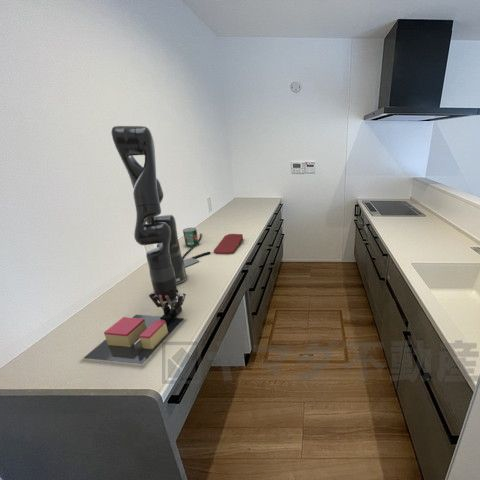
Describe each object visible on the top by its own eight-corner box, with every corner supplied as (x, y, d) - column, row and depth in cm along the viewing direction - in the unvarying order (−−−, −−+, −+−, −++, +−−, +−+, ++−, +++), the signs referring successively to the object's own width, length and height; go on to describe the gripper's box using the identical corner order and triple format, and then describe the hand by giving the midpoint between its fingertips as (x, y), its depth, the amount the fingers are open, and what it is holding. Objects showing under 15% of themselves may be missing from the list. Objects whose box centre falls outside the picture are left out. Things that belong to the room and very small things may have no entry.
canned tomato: (184, 245, 172) (181, 229, 168) (196, 242, 177) (194, 226, 173) (187, 248, 166) (184, 232, 162) (200, 245, 171) (198, 229, 167)
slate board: (136, 316, 103) (135, 314, 103) (184, 320, 101) (184, 318, 101) (84, 360, 83) (83, 358, 82) (143, 366, 81) (142, 364, 80)
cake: (126, 328, 95) (123, 317, 93) (147, 330, 94) (144, 318, 92) (108, 345, 88) (103, 332, 86) (130, 347, 87) (126, 334, 85)
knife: (176, 309, 105) (175, 303, 104) (182, 310, 105) (180, 303, 104) (133, 351, 84) (131, 343, 83) (140, 351, 84) (137, 344, 83)
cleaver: (217, 256, 156) (208, 251, 162) (217, 255, 156) (208, 251, 162) (165, 274, 135) (157, 268, 140) (165, 273, 134) (157, 267, 140)
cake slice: (159, 331, 94) (156, 319, 92) (168, 332, 93) (165, 320, 92) (142, 348, 86) (138, 335, 84) (152, 349, 86) (149, 336, 84)
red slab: (233, 259, 161) (245, 239, 183) (232, 252, 159) (244, 232, 180) (214, 258, 161) (228, 238, 183) (212, 251, 159) (227, 232, 181)
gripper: (187, 272, 97) (194, 311, 104) (152, 270, 99) (161, 308, 105) (174, 283, 90) (183, 323, 97) (137, 280, 92) (148, 320, 98)
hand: (172, 315), depth 101 cm, fingers closed on knife, 2 cm apart
